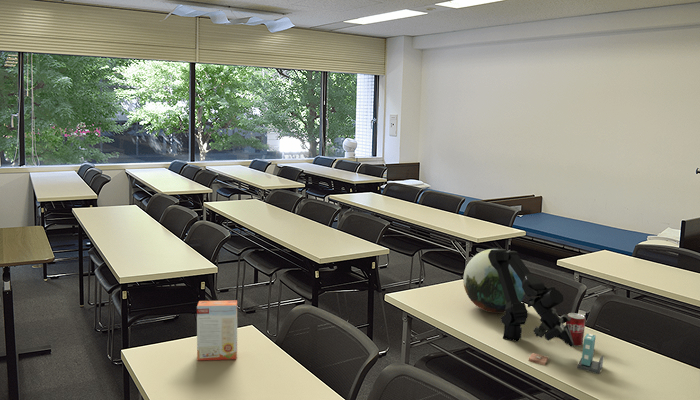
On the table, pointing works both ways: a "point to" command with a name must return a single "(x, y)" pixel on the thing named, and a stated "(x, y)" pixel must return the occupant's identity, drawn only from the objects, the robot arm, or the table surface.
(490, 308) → the decorative globe
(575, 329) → the soda can
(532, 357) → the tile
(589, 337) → the key two
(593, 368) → the key two base
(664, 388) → the table surface
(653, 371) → the table surface
